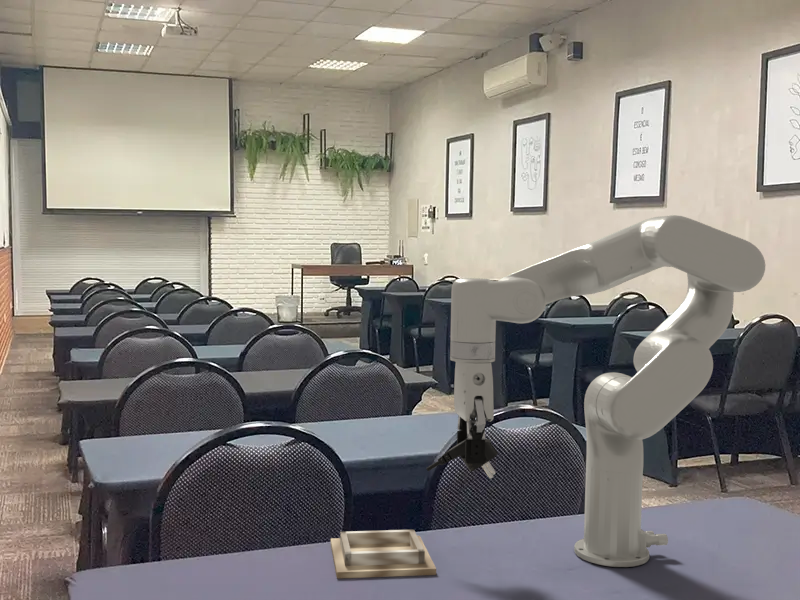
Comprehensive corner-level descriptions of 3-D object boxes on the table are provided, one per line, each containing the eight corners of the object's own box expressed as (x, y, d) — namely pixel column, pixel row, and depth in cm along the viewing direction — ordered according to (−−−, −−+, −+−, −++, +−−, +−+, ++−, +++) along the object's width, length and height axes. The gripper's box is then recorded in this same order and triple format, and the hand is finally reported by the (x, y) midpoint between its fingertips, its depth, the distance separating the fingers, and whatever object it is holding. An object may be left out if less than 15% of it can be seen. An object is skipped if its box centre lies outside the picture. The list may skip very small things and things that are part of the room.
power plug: (428, 461, 149) (484, 426, 146) (452, 498, 148) (509, 463, 145) (420, 469, 143) (478, 432, 140) (445, 507, 142) (504, 471, 140)
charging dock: (419, 541, 152) (420, 524, 152) (436, 574, 136) (436, 556, 136) (330, 544, 150) (330, 527, 150) (336, 578, 134) (337, 559, 134)
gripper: (508, 358, 134) (505, 470, 135) (482, 346, 151) (480, 446, 152) (461, 358, 133) (459, 471, 134) (440, 346, 150) (439, 447, 151)
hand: (470, 457), depth 143 cm, fingers closed on power plug, 5 cm apart
